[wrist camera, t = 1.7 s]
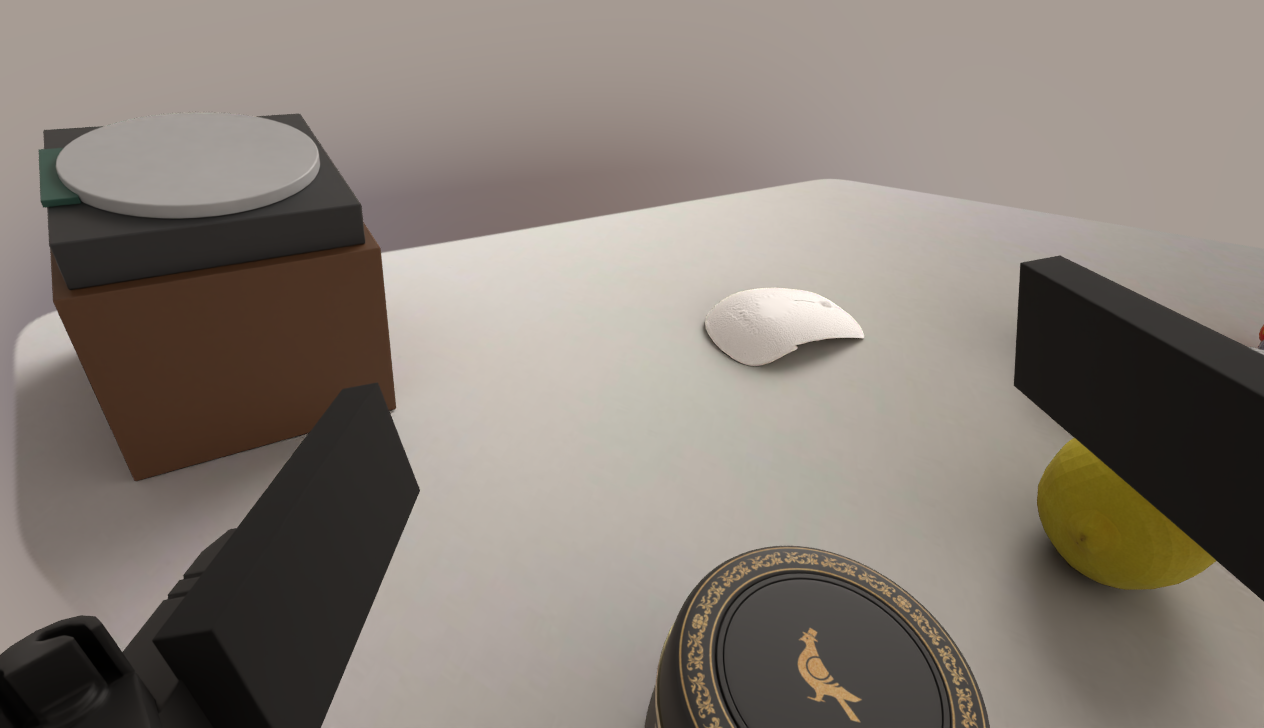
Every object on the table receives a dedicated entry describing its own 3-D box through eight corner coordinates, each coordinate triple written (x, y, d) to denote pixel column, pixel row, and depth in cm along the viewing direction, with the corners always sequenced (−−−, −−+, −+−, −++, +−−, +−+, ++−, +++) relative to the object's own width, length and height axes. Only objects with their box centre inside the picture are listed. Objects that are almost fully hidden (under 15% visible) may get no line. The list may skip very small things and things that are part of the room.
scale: (134, 481, 32) (23, 238, 24) (113, 335, 39) (23, 113, 31) (396, 408, 38) (375, 194, 30) (335, 293, 45) (306, 97, 37)
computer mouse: (875, 336, 50) (886, 309, 49) (746, 376, 44) (754, 347, 43) (812, 287, 54) (821, 261, 53) (687, 317, 49) (693, 290, 47)
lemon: (1099, 649, 32) (1212, 543, 27) (969, 522, 37) (1044, 412, 32) (1220, 574, 37) (1336, 472, 32) (1090, 470, 42) (1171, 368, 37)
